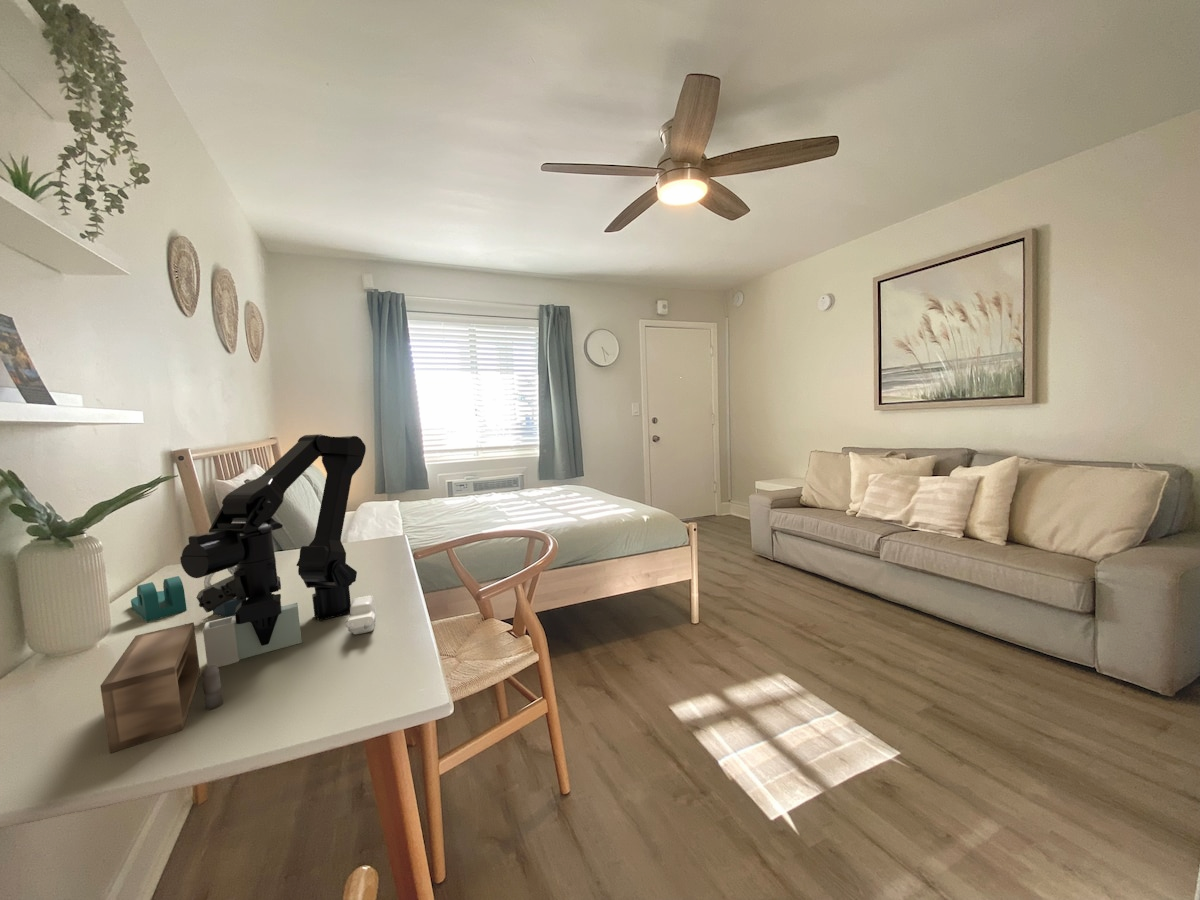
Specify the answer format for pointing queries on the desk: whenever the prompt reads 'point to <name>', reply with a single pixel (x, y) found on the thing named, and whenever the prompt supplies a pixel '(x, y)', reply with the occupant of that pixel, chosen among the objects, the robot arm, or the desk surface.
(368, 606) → the power adapter
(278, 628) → the grey block with opening
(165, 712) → the cabinet
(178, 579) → the bracket
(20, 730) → the desk surface
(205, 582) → the watch
